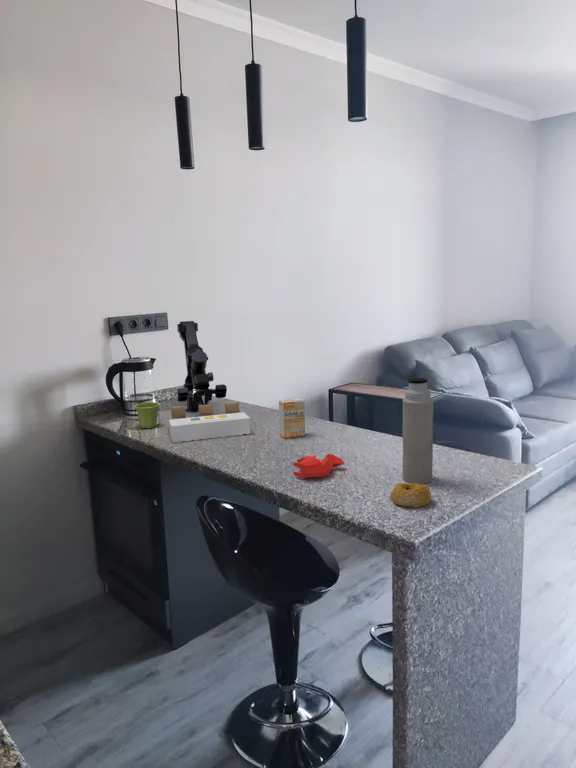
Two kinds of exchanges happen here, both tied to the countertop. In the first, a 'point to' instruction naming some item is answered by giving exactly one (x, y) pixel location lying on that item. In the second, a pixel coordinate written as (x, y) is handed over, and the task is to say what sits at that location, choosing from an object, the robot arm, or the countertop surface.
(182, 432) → the key console
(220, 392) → the robot arm
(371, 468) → the countertop surface
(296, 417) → the supplement box
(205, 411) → the key middle
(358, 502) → the countertop surface
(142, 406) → the plant pot
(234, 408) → the key
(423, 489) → the bagel
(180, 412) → the key
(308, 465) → the animal figurine
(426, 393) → the thermos bottle
